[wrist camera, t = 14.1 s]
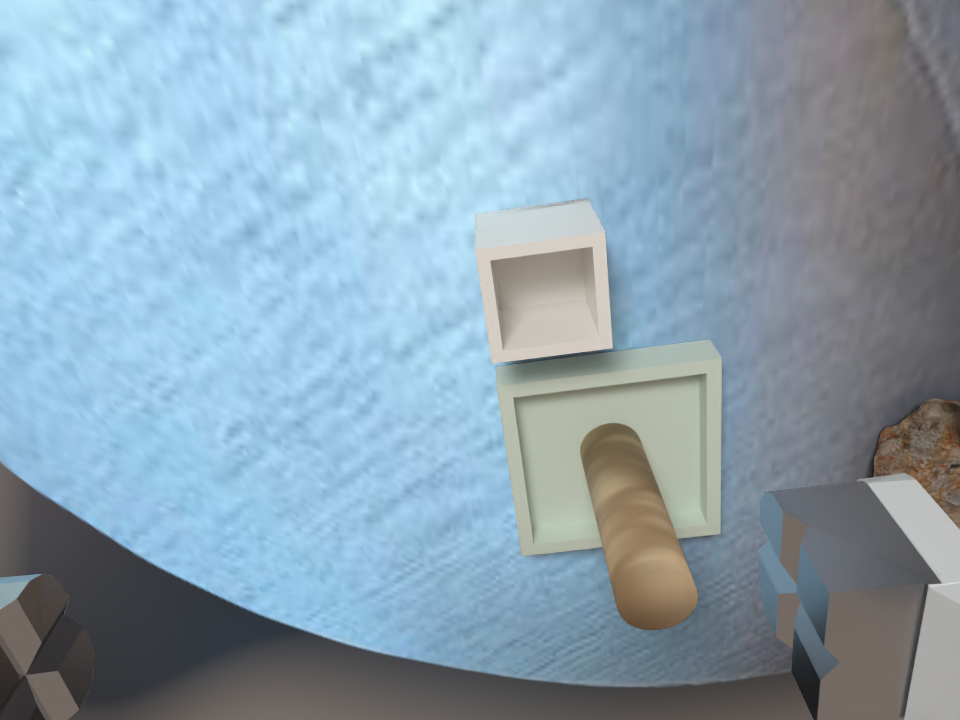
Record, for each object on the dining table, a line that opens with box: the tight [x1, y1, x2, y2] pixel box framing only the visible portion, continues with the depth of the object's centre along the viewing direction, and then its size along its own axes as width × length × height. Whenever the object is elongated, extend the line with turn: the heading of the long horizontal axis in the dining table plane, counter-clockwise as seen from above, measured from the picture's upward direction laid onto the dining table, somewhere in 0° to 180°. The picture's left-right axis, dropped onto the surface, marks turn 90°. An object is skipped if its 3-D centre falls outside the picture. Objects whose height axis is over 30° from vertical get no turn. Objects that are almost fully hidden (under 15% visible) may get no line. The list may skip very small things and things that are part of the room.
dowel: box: [580, 423, 698, 630], centre depth 39 cm, size 4×4×12 cm
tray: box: [496, 339, 722, 556], centre depth 44 cm, size 12×12×2 cm
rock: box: [873, 398, 960, 529], centre depth 44 cm, size 9×6×10 cm
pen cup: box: [475, 198, 613, 364], centre depth 37 cm, size 6×6×6 cm
